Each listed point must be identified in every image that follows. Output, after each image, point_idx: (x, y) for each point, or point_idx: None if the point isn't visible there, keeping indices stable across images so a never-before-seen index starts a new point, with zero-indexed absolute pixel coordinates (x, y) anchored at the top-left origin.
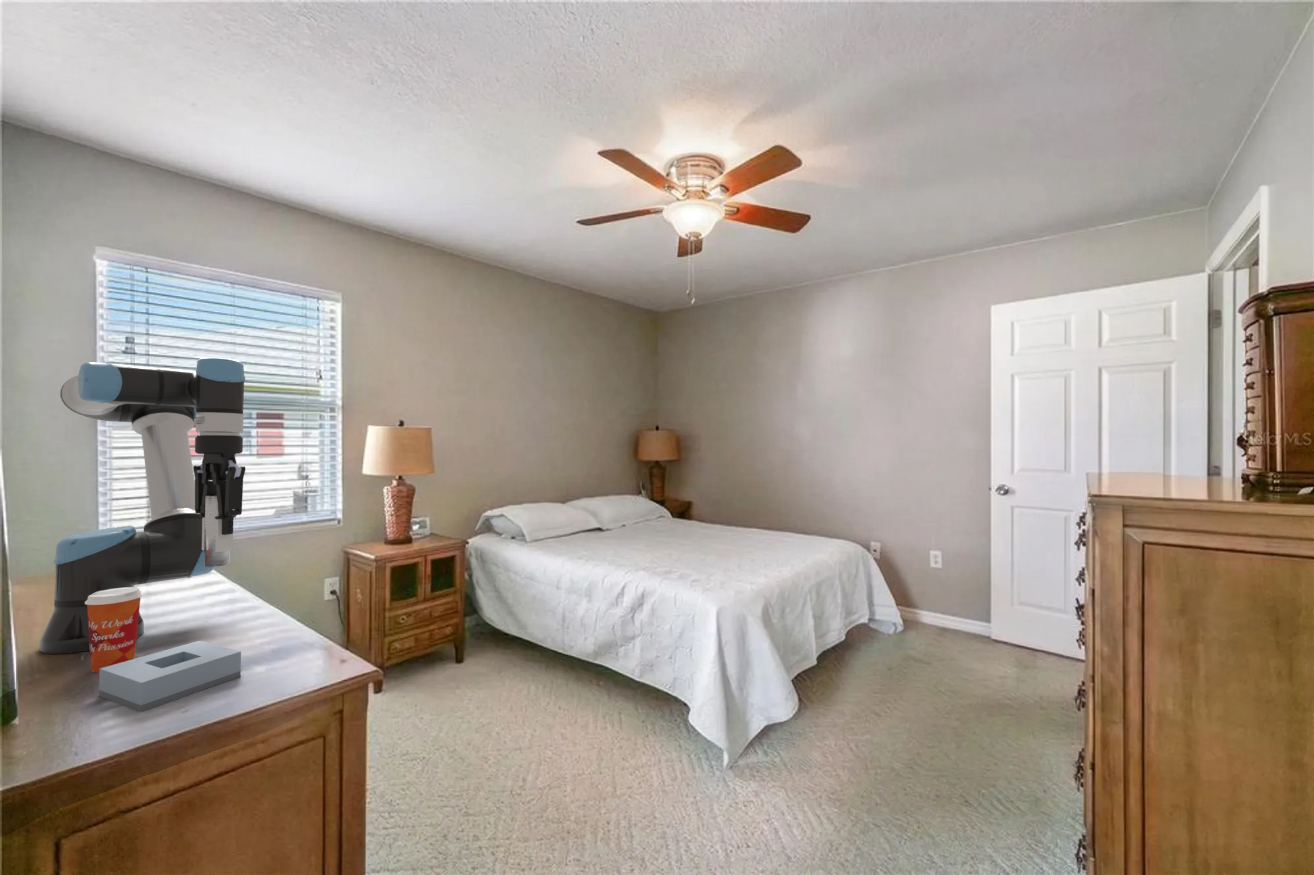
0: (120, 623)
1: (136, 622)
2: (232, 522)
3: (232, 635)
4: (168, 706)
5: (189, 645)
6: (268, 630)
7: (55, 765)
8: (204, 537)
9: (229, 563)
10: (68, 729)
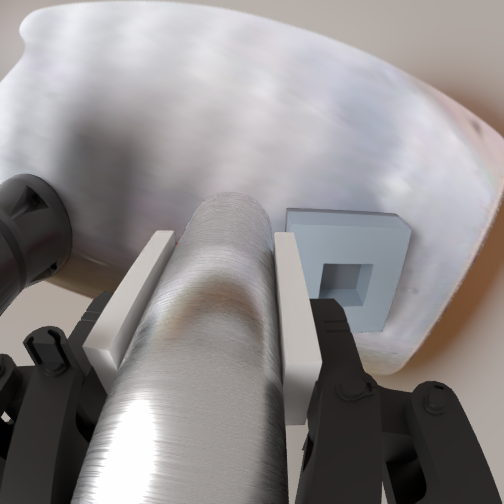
0: None
1: None
2: (358, 358)
3: (175, 99)
4: None
5: (301, 244)
6: (212, 49)
7: (395, 362)
8: None
9: (255, 201)
10: None
